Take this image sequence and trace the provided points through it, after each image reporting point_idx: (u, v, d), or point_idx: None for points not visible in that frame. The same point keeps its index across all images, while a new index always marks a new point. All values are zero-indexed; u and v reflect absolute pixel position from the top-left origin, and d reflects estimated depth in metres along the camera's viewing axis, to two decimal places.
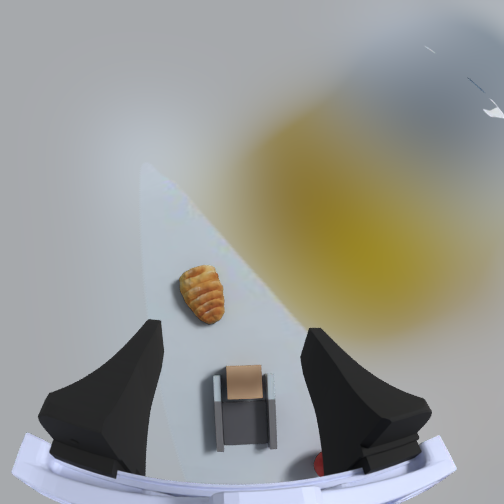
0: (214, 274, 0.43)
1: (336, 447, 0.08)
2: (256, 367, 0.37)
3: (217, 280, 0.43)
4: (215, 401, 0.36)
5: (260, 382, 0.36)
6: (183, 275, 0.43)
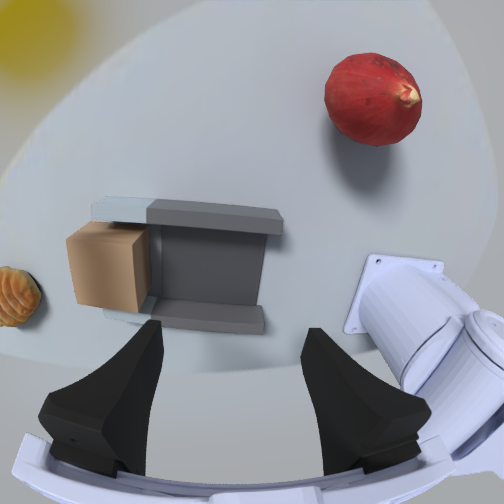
0: None
1: (336, 447, 0.08)
2: (70, 250, 0.15)
3: None
4: None
5: (98, 245, 0.15)
6: None
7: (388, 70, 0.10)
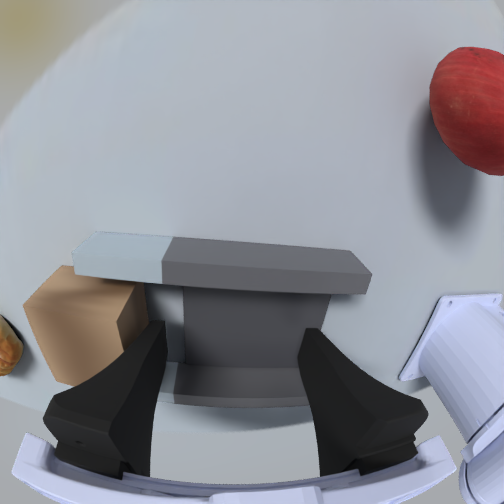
0: None
1: (332, 448, 0.08)
2: (31, 319, 0.09)
3: None
4: (174, 401, 0.13)
5: (67, 318, 0.09)
6: None
7: None
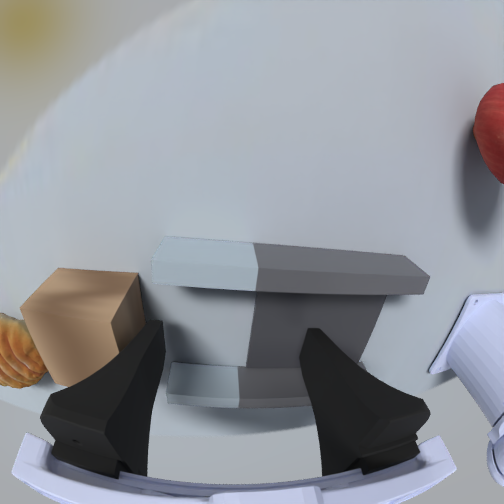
0: None
1: (334, 447, 0.08)
2: (28, 321, 0.09)
3: None
4: (238, 406, 0.14)
5: (62, 319, 0.09)
6: None
7: None
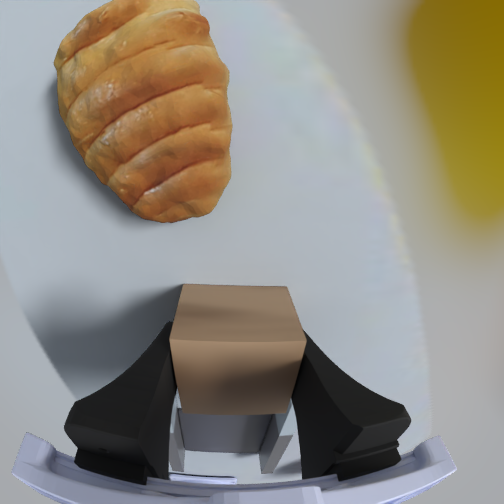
0: (189, 19, 0.06)
1: (312, 451, 0.08)
2: (286, 347, 0.10)
3: (203, 43, 0.07)
4: None
5: (289, 384, 0.11)
6: (59, 51, 0.06)
7: None
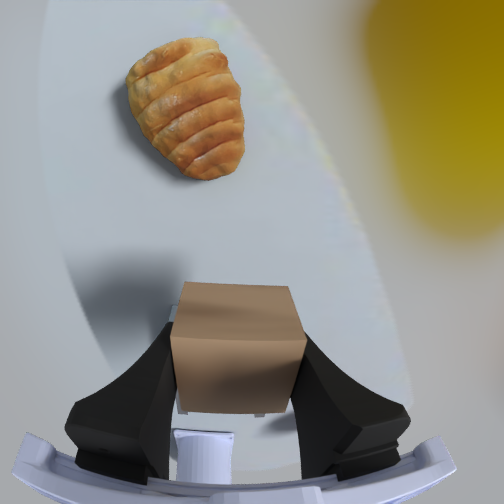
0: (217, 57, 0.12)
1: (312, 451, 0.08)
2: (287, 346, 0.10)
3: (225, 72, 0.13)
4: None
5: (289, 384, 0.11)
6: (132, 72, 0.12)
7: None
